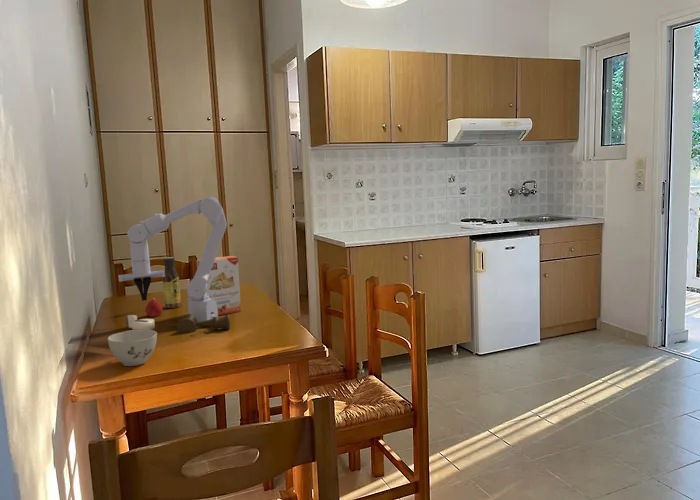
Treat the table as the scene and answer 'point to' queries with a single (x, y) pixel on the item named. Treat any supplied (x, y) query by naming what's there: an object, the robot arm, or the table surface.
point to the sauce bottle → (171, 284)
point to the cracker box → (224, 284)
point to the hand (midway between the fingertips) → (144, 300)
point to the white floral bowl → (133, 346)
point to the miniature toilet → (139, 323)
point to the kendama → (200, 323)
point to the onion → (153, 308)
